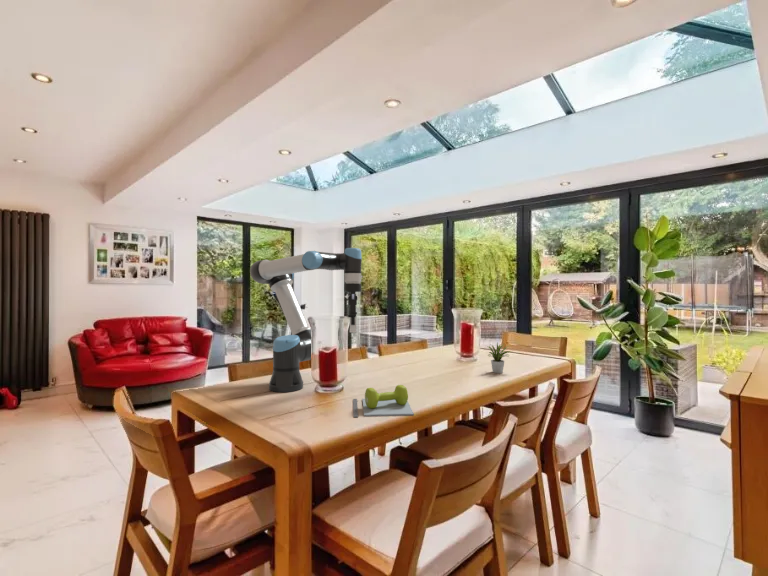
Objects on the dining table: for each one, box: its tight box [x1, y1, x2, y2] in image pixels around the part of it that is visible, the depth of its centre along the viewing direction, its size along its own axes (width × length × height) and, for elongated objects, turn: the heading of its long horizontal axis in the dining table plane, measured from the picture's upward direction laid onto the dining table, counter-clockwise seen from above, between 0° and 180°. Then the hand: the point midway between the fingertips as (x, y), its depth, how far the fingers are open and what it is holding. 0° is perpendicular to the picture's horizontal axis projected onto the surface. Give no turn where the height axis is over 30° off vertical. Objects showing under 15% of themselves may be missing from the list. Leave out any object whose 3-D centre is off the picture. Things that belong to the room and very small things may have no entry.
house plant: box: [486, 342, 512, 374], centre depth 214 cm, size 14×14×16 cm
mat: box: [361, 398, 415, 417], centre depth 153 cm, size 18×20×1 cm
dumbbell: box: [364, 384, 409, 409], centre depth 153 cm, size 16×8×7 cm, turn 111°
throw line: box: [352, 398, 359, 419], centre depth 152 cm, size 2×22×1 cm, turn 5°
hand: (352, 330), depth 176 cm, fingers open, 13 cm apart
